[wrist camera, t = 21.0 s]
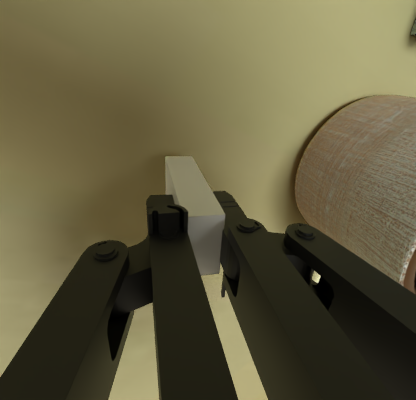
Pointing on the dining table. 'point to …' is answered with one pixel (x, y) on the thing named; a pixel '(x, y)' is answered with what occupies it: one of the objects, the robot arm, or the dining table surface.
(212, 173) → the dining table surface
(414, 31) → the tray
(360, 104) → the planter
